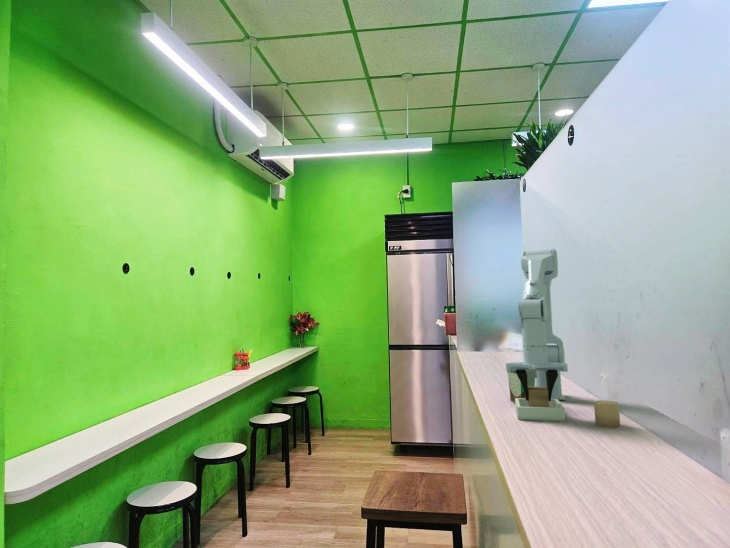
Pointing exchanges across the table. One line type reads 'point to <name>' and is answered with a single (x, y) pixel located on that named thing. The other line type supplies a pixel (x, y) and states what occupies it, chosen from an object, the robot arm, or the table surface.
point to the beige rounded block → (607, 414)
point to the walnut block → (538, 397)
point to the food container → (519, 384)
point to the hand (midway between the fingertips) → (538, 400)
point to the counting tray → (540, 411)
